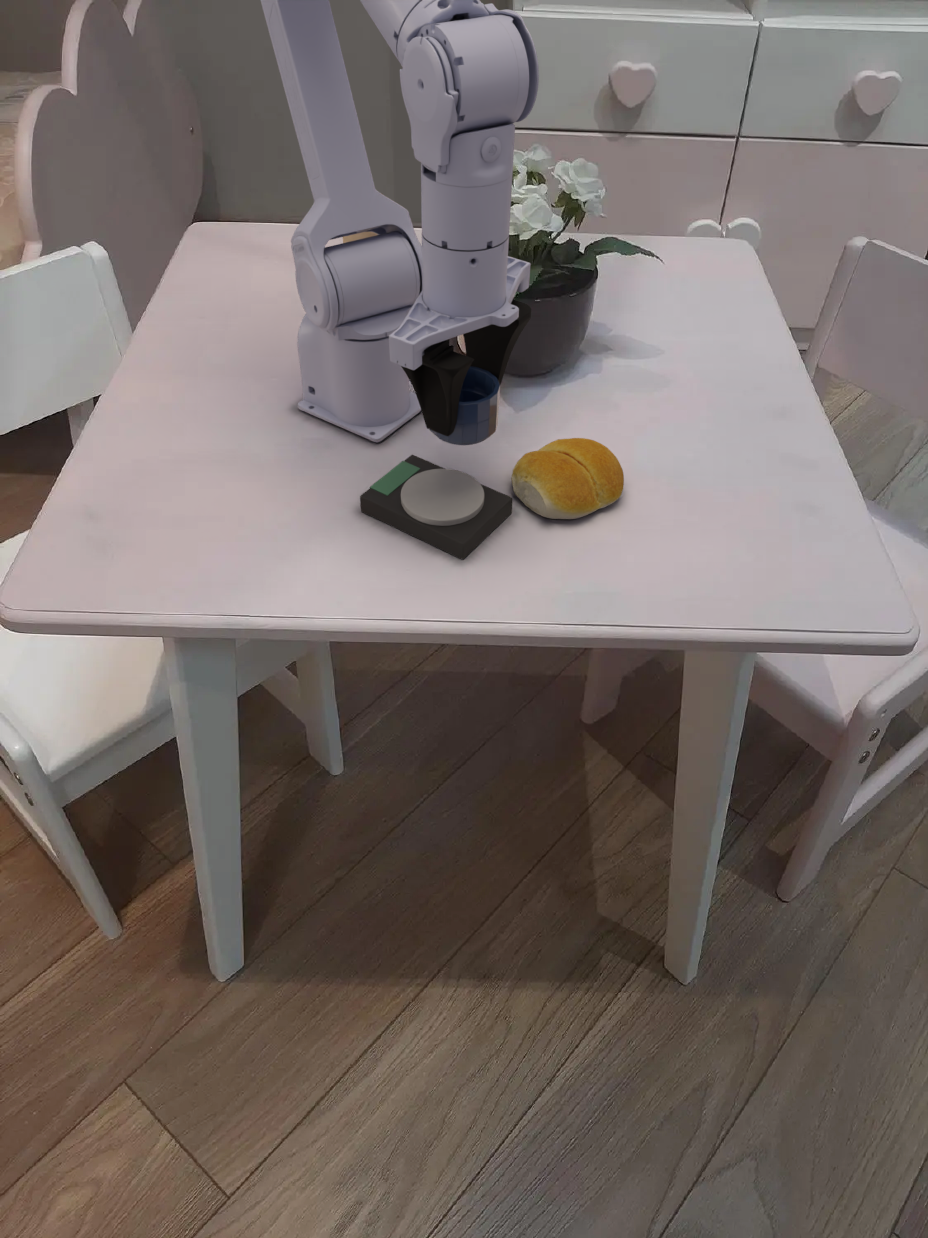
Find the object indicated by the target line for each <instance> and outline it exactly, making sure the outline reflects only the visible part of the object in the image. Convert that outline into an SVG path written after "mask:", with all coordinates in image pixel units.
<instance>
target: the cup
mask: <svg viewBox="0 0 928 1238" xmlns="http://www.w3.org/2000/svg"><path fill="white" fill-rule="evenodd" d="M500 395H501V385H500V384H499V382H498V379H497V377H495V376H494V375H493V374H491V373H490V372H489V371H486V370H484V369H481V368H478V367H472V366H470V368H469V369H468V372H467V374H466V376H465V379H464V382H463V385H462V389H461V393H460V398H459V406H458V415H457V422H456V426H455V429H454V432H453V433H452V434H451V435H449V436H445V435H442V434H440V433H437V432H435V431H432V430H430V429H428V430H429V431H430V432H431V433H432V434H433V435H434V436H435V437H436V438H438V439H439V440H440V441H442V442H444V443H446V444H451V445H456V446H472V445H477V444H479V443H483V442H484V441H486V440H488V439H489V438H490V437H491V436H492V435H494V433H496V431H497V429H498V426H499V409H500Z"/></svg>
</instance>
